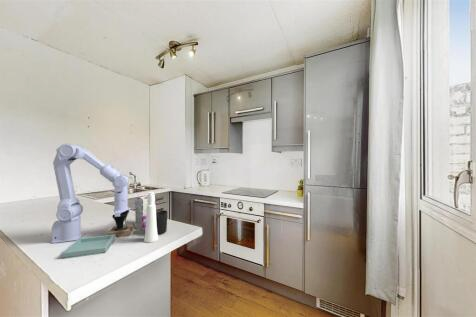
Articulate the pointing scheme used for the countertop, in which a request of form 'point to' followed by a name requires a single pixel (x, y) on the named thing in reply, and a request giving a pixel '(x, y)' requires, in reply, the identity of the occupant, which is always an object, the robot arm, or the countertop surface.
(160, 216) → the pen holder
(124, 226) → the steel pin
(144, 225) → the candy bar box
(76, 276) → the countertop surface
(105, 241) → the tray
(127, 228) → the socket block
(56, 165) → the robot arm
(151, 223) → the cosmetic bottle
